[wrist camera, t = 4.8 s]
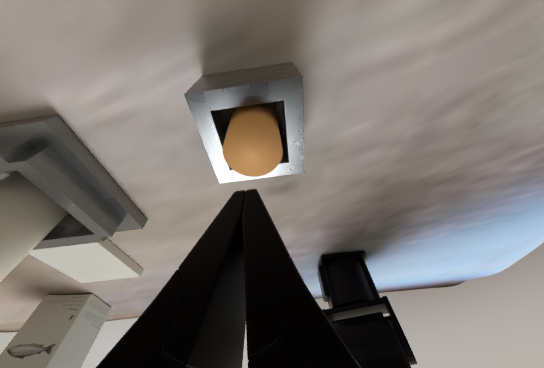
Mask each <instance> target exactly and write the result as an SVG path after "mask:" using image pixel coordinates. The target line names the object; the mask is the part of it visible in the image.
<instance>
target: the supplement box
mask: <svg viewBox="0 0 544 368" xmlns="http://www.w3.org/2000/svg"><path fill="white" fill-rule="evenodd" d="M110 310H111V308H110V307H109V306H108V305H107V304H105V303H104V302H103V301H102V300H100V299H99V298H97V297H96V296H95V295H93V294H85V295H47V296H46V297H45V298H44V299H43V301H42V302H41V303H40V304H39V306H38V307H37V308H36V310H35V311H34V312H33V313H32V315H31V316H30V317H29V319H28V320H27V321H26V322H25V324H24V325H23V326H22V328H21V329H20V330H19V332H18V333H17V334H16V335H15V337H14V338H13V339H12V341H11V342H10V343H9V344H8V346H7V347H6V348H5V350H4V351H3V352H2V353H1V355H0V368H81V366H82V364H83V362H84V360H85V358H86V356H87V354H88V352H89V350H90V349H91V346H92V345H93V343H94V341H95V339H96V337H97V335H98V333H99V331H100V329H101V327H102V325H103V323H104V322H105V320H106V318H107V316H108V314H109V312H110Z"/></svg>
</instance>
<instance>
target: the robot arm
mask: <svg viewBox="0 0 544 368" xmlns="http://www.w3.org/2000/svg"><path fill="white" fill-rule="evenodd" d="M365 258H366V253H365V251H361V252H351V253H342V254H333V255H324V256H321V260H320V266H319V267H318V278H319V282H320V287H321V291H322V295H323V299H324V301H325V302H328V304H329V308H330V309H327V310H325V309H323V310H321V308H320V307H319V305H318V304H317V302H316V301H315V299H314V297H313V296H312V294H311V293H310V291H309V290H308V288H307V286H306V285H305V283H304V281H303V279H302V278H301V276H300V274H299V272H298V270H297V268H296V266H295V264H294V262H293V260H292V258H291V257H290V255H289V253H288V251H287V249H286V247H285V245H284V243H283V241H282V239H281V237H280V235H279V233H278V231H277V229H276V227H275V225H274V223H273V221H272V219H271V217H270V215H269V213H268V211H267V209H266V207H265V205H264V203H263V201H262V199H261V197H260V195H259V193H258V191H257V189H249V190H246V191H245V190H242V191H236V192H234V193H233V195H232V196H231V198H230V199H229V200H228V202H227V203H226V204H225V206H224V207H223V208H222V210H221V211H220V212H219V214H218V215H217V216H216V218H215V219H214V220H213V222H212V223H211V225H210V226H209V227H208V229H207V230H206V231H205V233H204V234H203V235H202V237H201V238H200V239H199V241H198V242H197V243H196V245H195V246H194V247H193V249H192V250H191V252H190V253H189V254H188V256H187V257H186V258H185V260H184V261H183V262H182V264H181V265H180V266H179V270H176V272H175V273H174V274H173V276H172V277H171V278H170V280H169V281H168V282H167V284H166V285H165V286H164V288H163V289H162V290H161V291H160V293H159V294H158V295H157V297H156V298H155V299H154V300H153V302H152V303H151V304H150V305H149V306H148V308H147V309H146V310H145V311H144V312H143V314H142V315H141V316H140V317H139V318H138V320H137V321H136V322H135V323H134V324H133V325H132V326H131V328H130V329H129V330H128V331H127V332H126V334H125V335H124V336H123V337H122V338H121V339H120V340H119V342H118V343H117V344H116V345H115V346H114V347H113V349H112V350H111V351H110V352H109V353H108V354H107V355H106V357H105V358H104V359H103V360H102V361H101V362H100V364H99V365H98V366H97V367H96V368H242V360H243V349H244V348H243V347H244V336H245V324H246V329H247V354H248V360H249V362H248V368H411V366H410V365H414V364H417V362H416V359H415V357H414V355H413V352H412V350H411V348H410V345H409V343H408V341H407V339H406V337H405V335H404V332H403V330H402V328H401V326H400V324H399V322H398V320H397V318H396V315H395V313H394V311H393V309H392V307H391V305H390V303H389V301H388V298H387V296H383V297H382V298H380V296H379V294H378V291H377V289H376V287H375V284H374V282H373V280H372V278H371V275H370V273H369V271H368V268H367V266H366V264H365V261H364V260H365ZM385 313H389V316H386V317H384V316H383V314H385Z"/></svg>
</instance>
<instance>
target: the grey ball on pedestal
mask: <svg viewBox="0 0 544 368" xmlns="http://www.w3.org/2000/svg"><path fill="white" fill-rule="evenodd" d="M67 214H68V212H67V211H66V210H65V209H64V208H62V207H61V206H60V205H59V204H58V203H56V202H55V201H54V200H53V199H51V198H50V197H49V196H48V195H47V194H45V193H44V192H43V191H42V190H40V189H39V188H38V187H37V186H36V185H34V184H33V183H32V182H31V181H29V180H28V179H27V178H26V177H25V176H23V175H22V174H21V173H20V172H18V171H15V172H13V173H12V174H10V175H9V176H7V177H5V178H4V179H2V180H1V181H0V282H1V281H2V280H3V279H4V278H5V277H6V276H7V275H8V274H9V273H10V272H11V271H12V270H13V269H14V268H15V267H16V266H17V265H18V264H19V263H20V262H21V261H22V260H23V259H24V258H25V257H26V256H27V255H28V254H29V253H30V252H31V250H32V249H33V248H34V247H35V246H36V245H37V244H38V243H39V242H40V241H41V240H42V239H43V238H44V237H45V236H46V235H47V234H48V233H49V232H50V231H51V230H52V229H53V228H54V227H55V226H56V225H57V224H58V223H59V222H60V221H61V220H62V219H63V218H64V217H65V216H66V215H67Z"/></svg>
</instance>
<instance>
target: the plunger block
mask: <svg viewBox="0 0 544 368" xmlns="http://www.w3.org/2000/svg"><path fill="white" fill-rule="evenodd" d="M184 95H185V98H186V100H187V103H188V105H189V108H190V110H191V113H192V115H193V118H194V120H195V123H196V125H197V128H198V130H199V133H200V135H201V138H202V140H203V143H204V145H205V148H206V150H207V153H208V156H209V158H210V161H211V163H212V166H213V168H214V171H215V173H216V176H217V178H218V181H219V183H227V182H235V181H242V180H250V179H258V178H266V177H274V176H281V175H289V174H297V173H304V129H303V81H302V75H301V74H300V72H299V71H298V70H297V68H296V67H295V66H294V64H293V63H292V62H291V63H285V64H278V65H272V66H265V67H259V68H252V69H246V70H239V71H233V72H226V73H220V74H213V75H207V76H202V77H201V78H200V79H199V80H198V81H197V82H196V83H195V84H194V85H193V86H192V87H191V88H190V89H189V90H188V91H187V92H186V93H185V94H184ZM276 101H280V104H281V114H282V125H283V135H280V138H281V144H282V149H283V154H282V159H281V161H280V163H279V165H278V166H277V167H276V168H275V169H274V170H273V171H272V172H270V173H268V174H266V175H263V176H258V177H250V176H244V175H241V174H239V173H237V172H235V171H234V170H233V169H231V168H230V167H229V166H228V164H227V163H226V161H225V159H224V156H223V144H224V140H225V137H226V133H227V130H228V126H229V123H230V120H229V117H228V113H227V109H228V108H235V107H241V106H248V105H255V104H262V103H269V102H276Z"/></svg>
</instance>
